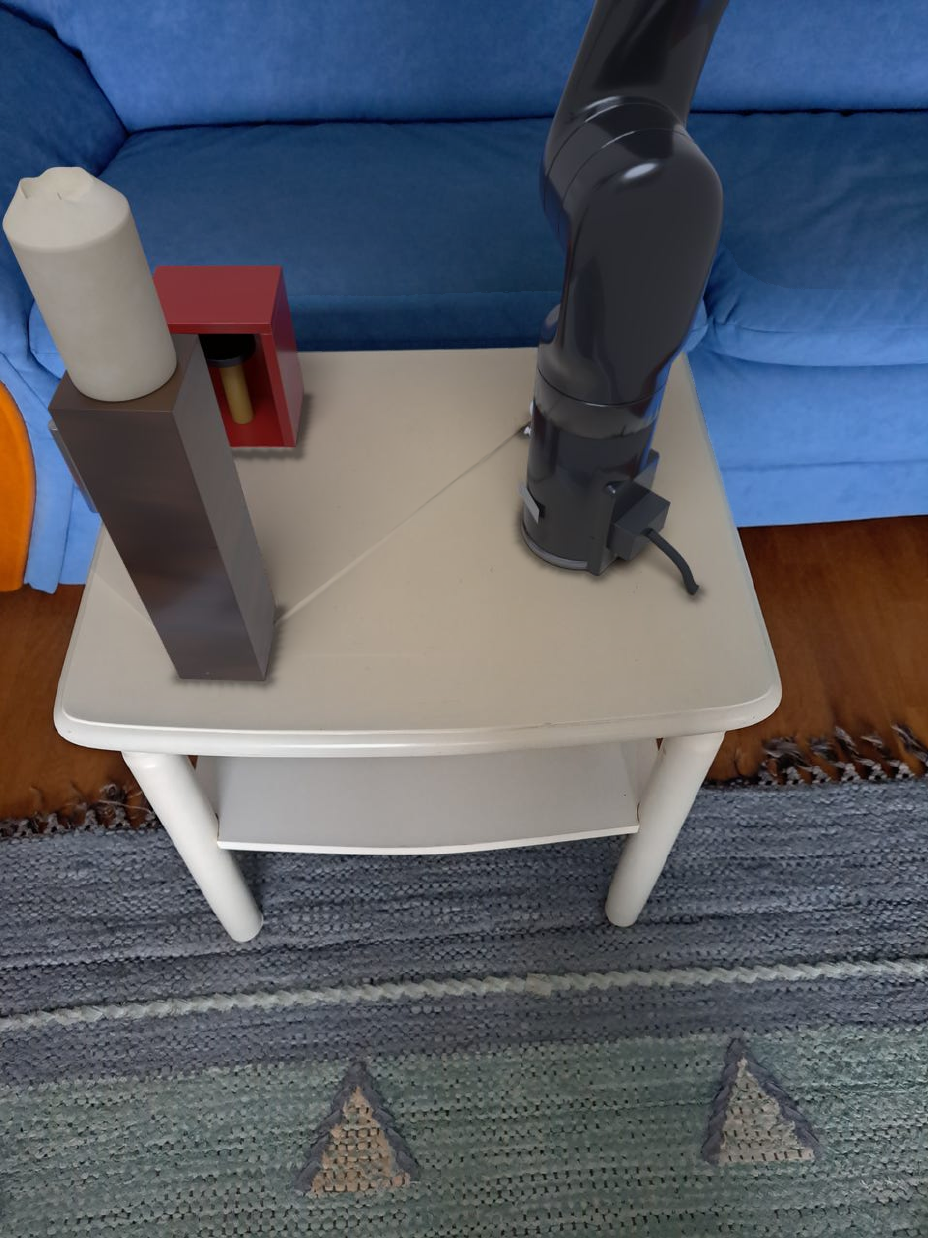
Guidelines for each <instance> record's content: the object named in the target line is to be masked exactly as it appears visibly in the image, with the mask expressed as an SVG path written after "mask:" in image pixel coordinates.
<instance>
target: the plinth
mask: <svg viewBox="0 0 928 1238" xmlns="http://www.w3.org/2000/svg"><path fill="white" fill-rule="evenodd" d="M170 335H171V339H172V342H173V345H174V349H175V352H176V360H177V363H176V368H175V371H174V373H173V375H172V376H171V377H170V379H169V380H168V381H167V382H166V383H165V384H164V385H162V386H161V387H160V388H158V389H157V390H155V391H153V392H151V393H149V394H147V395H144V396H141V397H138V398H135V399H131V400H125V401H102V400H97V399H94V398H91V397H88V396H86V395H85V394H83V393H82V392H80V391H79V390H78V389H77V387H76V386H75V385H74V383H73V382H72V380H71V378H70V376H69V374H68V371H67V369H66V368H65V370H64V372H63V374H62V376H61V378H60V381H59V383H58V385H57V387H56V389H55V391H54V393H53V395H52V398H51V400H50V402H49V404H48V406H47V412H48V413H49V416H50V418H51V419H53V421H54V423H55V425H56V427H57V429H58V431H59V433H60V435H61V437H62V439H63V441H64V444H65V446H66V448H67V450H68V452H69V454H70V456H71V458H72V460H73V462H74V464H75V466H76V468H77V470H78V472H79V474H80V476H81V478H82V480H83V482H84V484H85V486H86V488H87V490H88V492H89V494H90V496H91V498H92V500H93V502H94V504H95V507H96V509H97V511H98V513H97V514H99V515H98V516H99V517H100V519H101V521H102V523H103V525H104V527H105V529H106V531H107V534H108V535H109V537H110V540H111V541H112V543H113V545H114V547H115V549H116V551H117V553H118V556H119V557H120V560H121V561H122V564H123V565H124V568H125V569H126V572H127V574H128V576H129V578H130V579H131V582H132V584H133V586H134V588H135V590H136V592H137V594H138V596H139V598H140V600H141V602H142V604H143V606H144V609H145V610H146V612H147V613H148V616H149V618H150V620H151V622H152V624H153V626H154V629H155V630H156V632H157V634H158V637H159V639H160V641H161V643H162V645H163V646H164V649H165V651H166V653H167V655H168V657H169V659H170V661H171V663H172V665H173V667H174V669H175V671H176V673H177V675H178V677H179V678H180V679H189V680H190V679H191V680H192V679H193V680H194V679H195V680H221V681H250V682H251V681H253V682H254V681H255V682H265V679H266V673H267V670H268V663H269V659H270V654H271V653H270V652H271V648H272V643H273V638H274V633H275V629H276V628H275V627H276V623H277V620H275V621H274V617H275V614H276V613H275V610H276V608H277V607H276V606H277V605H276V602H275V599H274V596H273V592H272V589H271V585H270V582H269V578H268V575H267V570H266V567H265V564H264V561H263V557H262V554H261V549H260V546H259V543H258V539H257V536H256V533H255V530H254V526H253V521H252V518H251V514H250V511H249V508H248V505H247V501H246V497H245V493H244V490H243V487H242V483H241V480H240V476H239V473H238V470H237V466H236V463H235V460H234V455H233V452H232V449H231V448H232V447H230V445H229V441H228V438H227V434H226V431H225V427H224V424H223V420H222V417H221V413H220V410H219V406H218V403H217V399H216V396H215V392H214V389H213V385H212V382H211V378H210V375H209V371H208V368H207V364H206V361H205V358H204V354H203V351H202V347H201V344H200V340H199V337H198V335H196V334H170Z"/></svg>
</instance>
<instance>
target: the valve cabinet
mask: <svg viewBox="0 0 928 1238" xmlns="http://www.w3.org/2000/svg"><path fill="white" fill-rule="evenodd" d="M152 279H153V282H154V285H155V288H156V291H157V295H158V298H159V301H160V304H161V307H162V310H163V313H164V317H165V320H166V323H167V326H168V329H169V332H170V334H196V335H198V334H254V337H255V342H256V350H255V352H254V354H253V355H252V357H251V358H249V359H248V360H247V361H245V362H244V363H242V368H243V372H244V376H245V380H246V384H247V388H248V392H249V396H250V400H251V404H252V408H253V412H254V418H253V420H252V421H251V422H249V423H246V424H238V423H236V422H234V420H233V418H232V415H231V411H230V407H229V404H228V400H227V396H226V393H225V389H224V385H223V382H222V378H221V374H220V371H219V368H214V367H210V366H207V368H208V371H209V375H210V378H211V382H212V385H213V389H214V392H215V396H216V399H217V403H218V406H219V410H220V413H221V417H222V420H223V424H224V427H225V431H226V434H227V438H228V441H229V445H230V448H296V446H297V441H298V432H299V426H300V421H301V412H302V407H303V406H302V405H303V399H304V398H303V397H304V392H305V386H304V381H303V375H302V371H301V370H302V369H301V365H300V359H299V353H298V348H297V347H298V346H297V343H296V337H295V332H294V326H293V321H292V313H291V310H290V304H289V299H288V298H289V297H288V293H287V288H286V282H285V277H284V271H283V266H282V265H278V264H277V265H275V264H274V265H156V266H155V269H154V272H153V274H152Z"/></svg>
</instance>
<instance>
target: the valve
mask: <svg viewBox="0 0 928 1238" xmlns="http://www.w3.org/2000/svg"><path fill="white" fill-rule="evenodd" d="M198 337H199V340H200V344H201V347H202V351H203V354H204V358H205V361H206V364H207V366H210V367H214V368H219V371H220V374H221V378H222V382H223V385H224V389H225V393H226V396H227V400H228V404H229V407H230V411H231V415H232V418H233V420H234V422H236V423H238V424H246V423H249V422H251V421H252V420H253V418H254V412H253V408H252V404H251V400H250V396H249V392H248V388H247V384H246V380H245V376H244V372H243V368H242V363H244V362H245V361H247V360H248V359H249V358H251V357H252V355H253V354H254V352H255V350H256V342H255V337H254V334H198Z"/></svg>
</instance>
